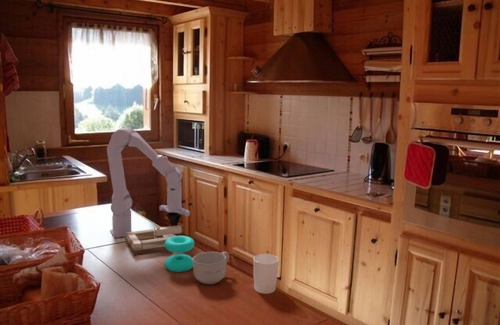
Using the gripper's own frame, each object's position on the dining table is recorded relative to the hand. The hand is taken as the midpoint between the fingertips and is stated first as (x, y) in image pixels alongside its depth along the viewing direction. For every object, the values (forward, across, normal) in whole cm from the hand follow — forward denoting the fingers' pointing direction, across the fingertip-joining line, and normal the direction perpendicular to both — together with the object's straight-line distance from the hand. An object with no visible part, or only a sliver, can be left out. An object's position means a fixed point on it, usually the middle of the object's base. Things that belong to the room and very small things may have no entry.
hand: (174, 229), depth 175 cm
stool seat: (+3, 0, -15) cm, 15 cm away
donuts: (+3, +21, -22) cm, 31 cm away
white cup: (+3, +53, -19) cm, 57 cm away
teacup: (+3, +36, -23) cm, 43 cm away
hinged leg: (0, 0, -4) cm, 4 cm away
